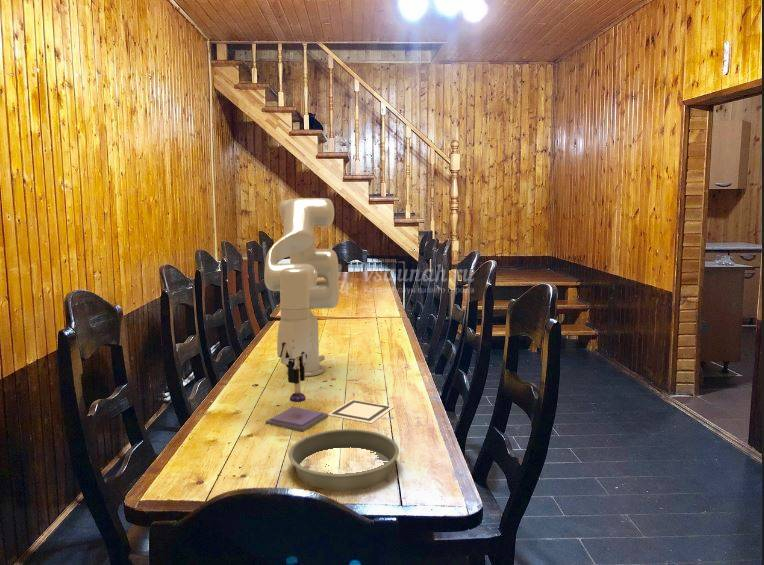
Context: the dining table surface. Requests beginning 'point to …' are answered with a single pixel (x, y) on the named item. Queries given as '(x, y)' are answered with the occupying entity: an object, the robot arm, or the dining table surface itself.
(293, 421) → the ink pad
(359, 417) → the marked card
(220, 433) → the dining table surface
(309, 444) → the cake pan
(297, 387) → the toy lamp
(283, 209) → the robot arm
